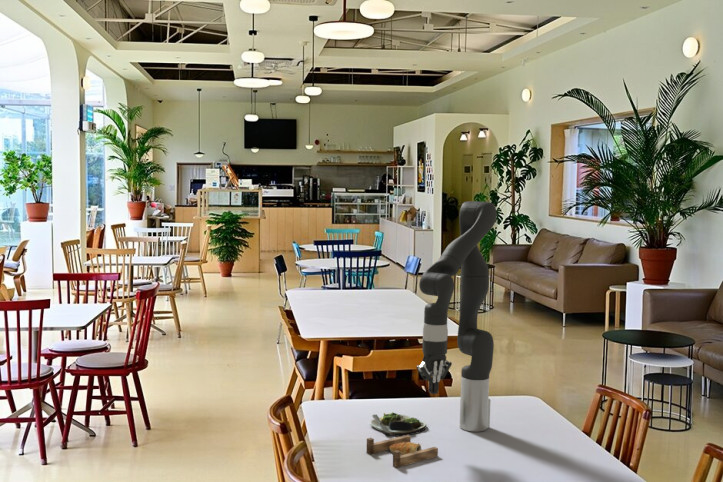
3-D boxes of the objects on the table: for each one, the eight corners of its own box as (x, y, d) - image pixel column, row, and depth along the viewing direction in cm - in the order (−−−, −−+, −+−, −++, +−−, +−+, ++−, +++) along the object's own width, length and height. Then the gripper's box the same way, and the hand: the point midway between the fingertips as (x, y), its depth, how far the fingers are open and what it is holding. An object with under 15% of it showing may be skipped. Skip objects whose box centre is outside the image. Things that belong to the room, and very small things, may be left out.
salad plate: (354, 424, 253) (355, 411, 253) (394, 414, 264) (394, 402, 264) (393, 440, 238) (393, 426, 238) (433, 429, 249) (433, 416, 249)
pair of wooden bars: (407, 442, 235) (407, 428, 235) (437, 456, 224) (438, 441, 224) (366, 452, 226) (366, 438, 226) (396, 467, 215) (396, 452, 214)
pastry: (386, 455, 225) (386, 442, 225) (394, 448, 231) (394, 436, 231) (416, 460, 221) (416, 447, 221) (423, 453, 227) (423, 440, 227)
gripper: (442, 333, 236) (441, 387, 238) (410, 338, 229) (409, 394, 230) (459, 337, 230) (457, 393, 232) (427, 342, 223) (425, 400, 224)
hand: (433, 393), depth 231 cm, fingers closed
